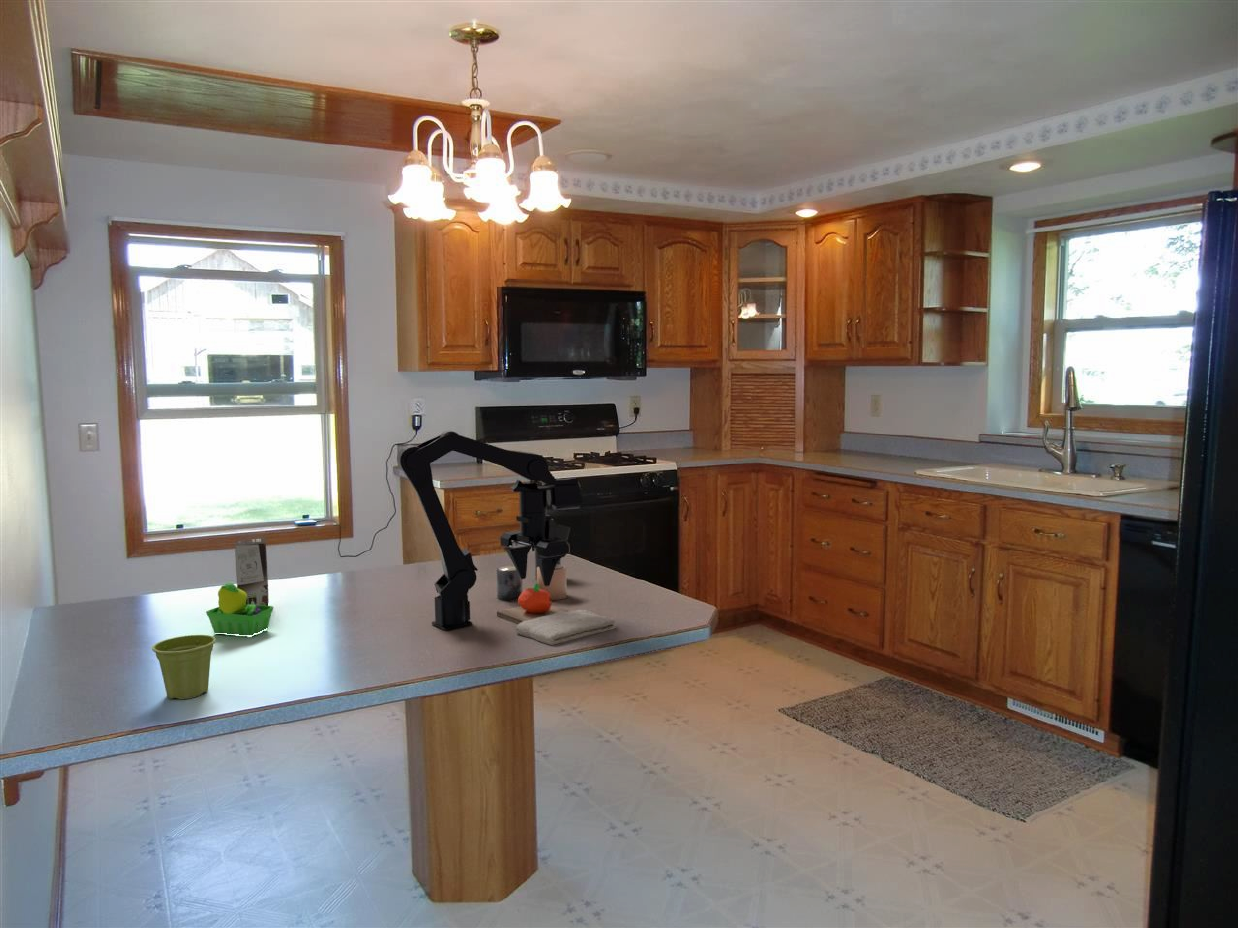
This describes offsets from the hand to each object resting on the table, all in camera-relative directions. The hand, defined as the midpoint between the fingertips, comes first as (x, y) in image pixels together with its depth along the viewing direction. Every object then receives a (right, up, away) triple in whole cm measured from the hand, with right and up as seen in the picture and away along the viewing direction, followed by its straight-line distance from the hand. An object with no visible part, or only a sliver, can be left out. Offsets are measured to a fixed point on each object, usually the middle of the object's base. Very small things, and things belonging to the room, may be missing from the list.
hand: (535, 582), depth 187 cm
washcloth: (+8, -9, -10) cm, 16 cm away
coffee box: (-65, -8, +8) cm, 66 cm away
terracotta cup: (+2, -6, +18) cm, 19 cm away
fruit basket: (-60, -10, -10) cm, 62 cm away
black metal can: (-8, -6, +18) cm, 20 cm away
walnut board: (0, -8, +1) cm, 8 cm away
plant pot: (-53, -13, -44) cm, 71 cm away
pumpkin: (0, -7, +1) cm, 7 cm away
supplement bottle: (0, -4, +37) cm, 37 cm away
